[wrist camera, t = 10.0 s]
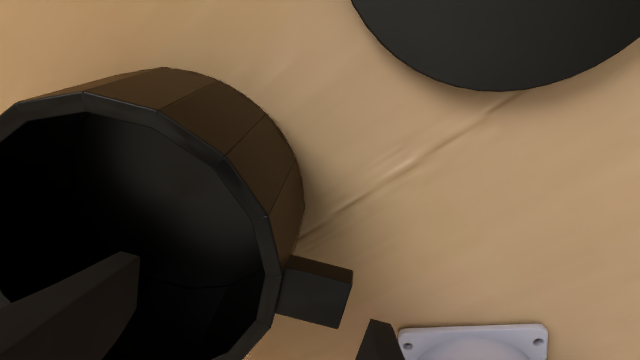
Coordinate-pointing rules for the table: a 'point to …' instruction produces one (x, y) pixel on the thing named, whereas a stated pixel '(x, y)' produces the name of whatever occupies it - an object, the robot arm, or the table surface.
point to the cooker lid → (501, 38)
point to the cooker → (163, 211)
